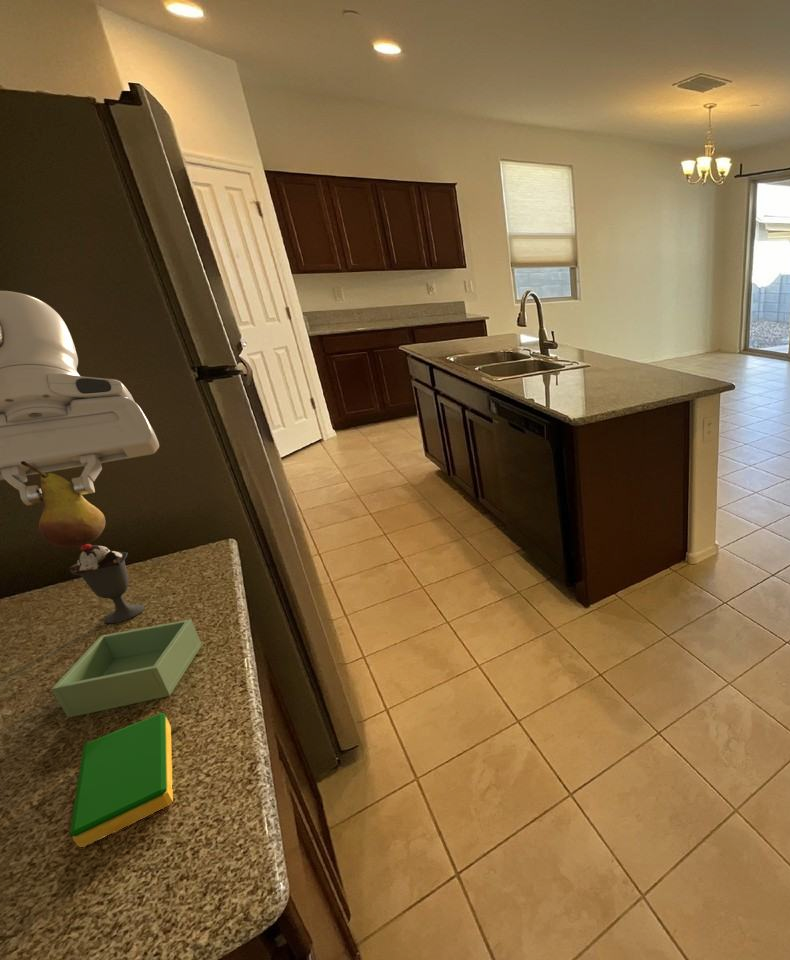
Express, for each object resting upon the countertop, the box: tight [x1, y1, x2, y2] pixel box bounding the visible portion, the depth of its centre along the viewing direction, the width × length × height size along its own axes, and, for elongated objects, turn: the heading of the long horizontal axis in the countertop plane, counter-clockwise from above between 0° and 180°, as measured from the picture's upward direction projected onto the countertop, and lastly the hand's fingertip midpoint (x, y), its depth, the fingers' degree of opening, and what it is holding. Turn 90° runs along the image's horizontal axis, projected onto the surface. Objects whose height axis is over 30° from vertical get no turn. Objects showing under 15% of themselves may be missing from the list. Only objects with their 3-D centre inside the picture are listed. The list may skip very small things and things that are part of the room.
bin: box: [51, 618, 203, 719], centre depth 71 cm, size 11×11×5 cm
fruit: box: [21, 461, 106, 548], centre depth 64 cm, size 6×6×12 cm
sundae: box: [68, 543, 145, 624], centre depth 83 cm, size 7×7×15 cm
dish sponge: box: [69, 712, 174, 848], centre depth 57 cm, size 7×14×2 cm, turn 41°
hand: (60, 497), depth 64 cm, fingers closed on fruit, 3 cm apart
